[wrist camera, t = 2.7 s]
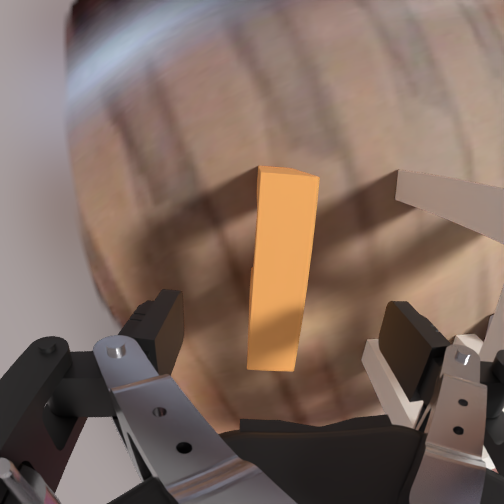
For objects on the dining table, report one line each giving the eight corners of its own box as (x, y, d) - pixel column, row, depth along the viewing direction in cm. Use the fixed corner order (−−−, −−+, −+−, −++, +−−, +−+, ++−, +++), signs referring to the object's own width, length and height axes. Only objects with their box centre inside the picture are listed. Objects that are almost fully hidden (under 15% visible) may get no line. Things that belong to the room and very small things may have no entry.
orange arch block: (258, 165, 23) (260, 172, 13) (291, 168, 23) (319, 177, 13) (249, 289, 26) (246, 369, 16) (280, 291, 26) (293, 371, 16)
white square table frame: (398, 169, 23) (570, 206, 7) (509, 194, 23) (640, 240, 7) (361, 360, 28) (422, 506, 12) (467, 352, 28) (546, 450, 12)
